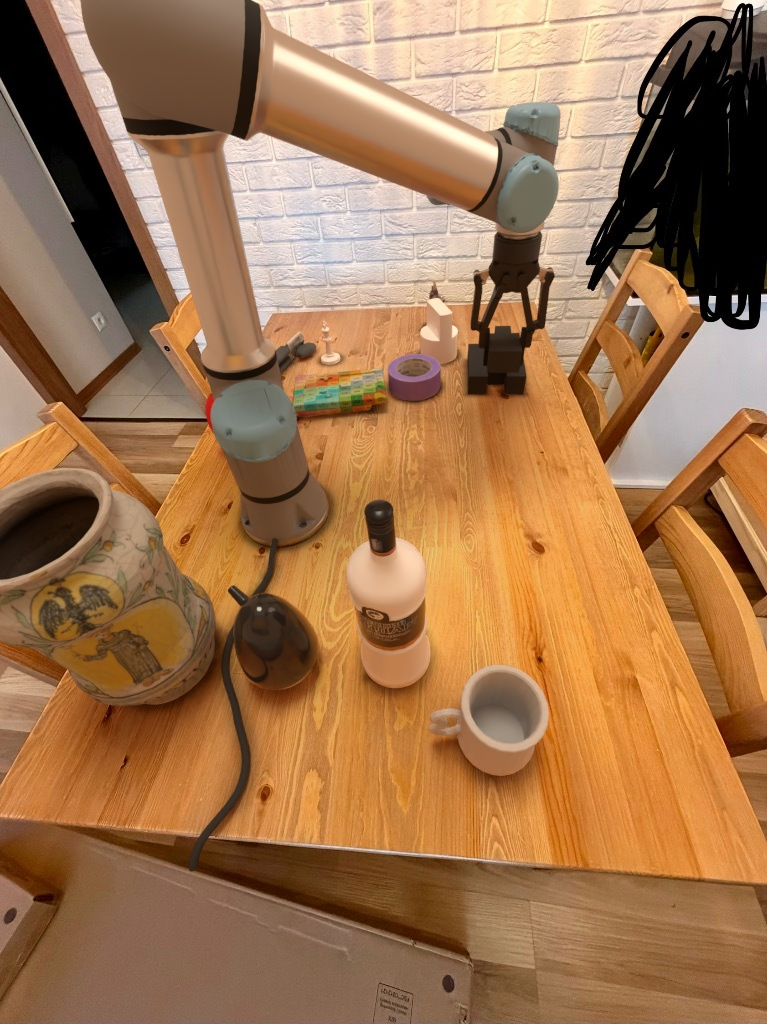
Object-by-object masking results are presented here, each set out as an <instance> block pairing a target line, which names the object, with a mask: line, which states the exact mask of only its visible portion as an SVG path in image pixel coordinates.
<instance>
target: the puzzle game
mask: <svg viewBox="0 0 767 1024" xmlns="http://www.w3.org/2000/svg"><path fill="white" fill-rule="evenodd" d="M384 373H385V372H384V367H381V368H380V367H379V368H369V369H357V370H347V371H336V372H326V373H313V374H303V375H297V376H295V378H294V388H293V396H292V397H293V398H292V404H293V406H294V409H295V412H296V415H297V416H299V417H301V418H307V417H317V416H327V415H336V414H337V415H338V414H347V413H355V412H367V411H370V410H371V409H372V406H374V405H383V404H385V403H388V397H387V389H386V381H385V374H384Z"/></svg>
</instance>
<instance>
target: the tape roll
mask: <svg viewBox="0 0 767 1024" xmlns="http://www.w3.org/2000/svg"><path fill="white" fill-rule="evenodd" d="M441 370H442V369H441V364H440V363H439V362H438V361H437V360H436V359H435V358H433V357H431V356H428V355H423V354H420V353H410V354H405V355H402V356H399V357H396V358H394V359H393V360H392V361H391V362H390V363H389V364H388V366H387V377H388V378H387V379H388V390H389V392H390V394H391V395H392V396H393V397H395V398H397V399H399V400H403V401H407V402H417V401H418V402H419V401H423V400H424V401H425V400H427V399H430V398H432V397H434V396H435V395H436V394H437V393H438V392H439V391H440V389H441Z"/></svg>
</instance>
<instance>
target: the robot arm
mask: <svg viewBox="0 0 767 1024" xmlns="http://www.w3.org/2000/svg"><path fill="white" fill-rule="evenodd" d="M79 1H80V9H81V17H82V22H83V27H84V31H85V34H86V37H87V39H88V43H89V45H90V48H91V49H92V51H93V54H94V55H95V58H96V60H97V62H98V64H99V66H100V67H101V68H102V70H103V72H104V73H105V74H106V76H107V78H108V79H109V82H110V84H111V87H112V90H113V93H114V97H115V99H116V102H117V103H116V104H117V106H118V109H119V112H120V114H121V119H122V121H123V123H124V127H125V130H126V133H127V135H128V136H129V138H131V139H132V140H133V141H135V142H136V143H137V144H138V145H139V146H140V147H142V148H143V149H144V151H145V152H146V153H147V155H148V157H149V161H150V164H151V166H152V170H153V173H154V178H155V180H156V184H157V187H158V190H159V193H160V196H161V199H162V203H163V206H164V210H165V212H166V216H167V219H168V222H169V227H170V228H171V232H172V235H173V238H174V242H175V245H176V248H177V251H178V256H179V258H180V261H181V265H182V268H183V271H184V274H185V278H186V281H187V284H188V287H189V291H190V293H191V298H192V299H193V304H194V308H195V310H196V314H197V317H198V321H199V323H200V327H201V331H202V333H203V336H204V339H205V343H206V345H205V347H204V348H203V349H202V351H201V352H200V353H201V354H200V361H201V363H202V367H203V371H204V374H205V377H206V379H207V382H208V387H209V388H210V392H211V393H212V395H213V399H214V403H213V405H212V408H211V414H210V416H211V423H212V429H213V432H212V434H213V433H214V434H213V436H214V438H215V440H216V441H217V442H218V445H219V447H220V448H221V451H222V453H223V455H224V457H225V459H226V462H227V464H228V467H229V469H230V471H231V474H232V476H233V479H234V481H235V483H236V486H237V487H238V489H239V493H240V498H239V499H240V500H239V501H240V502H239V504H240V505H239V516H240V521H241V524H242V527H243V529H244V530H245V533H246V535H247V536H248V537H249V538H250V539H251V540H252V541H254V542H256V543H258V544H259V545H262V546H266V547H267V546H268V547H270V550H269V555H268V564H267V569H266V573H265V575H264V577H263V579H262V581H261V582H260V583H259V585H258V587H256V589H255V590H254V591H253V593H252V594H251V595H250V596H249V598H250V597H252V596H254V595H257V594H261V593H263V592H264V590H265V589H266V587H267V586H268V584H269V582H270V581H271V578H272V577H273V576H272V575H273V573H274V568H275V561H276V553H277V549H278V548H280V547H281V548H282V547H289V546H292V545H296V544H298V543H299V544H300V543H302V542H303V541H306V540H307V539H309V538H311V537H312V536H314V535H315V534H316V533H317V532H319V530H321V528H322V527H323V526H324V524H325V523H326V520H327V519H328V516H329V511H330V507H329V506H330V504H329V500H328V496H327V493H326V491H325V489H324V488H323V486H322V485H321V484H320V483H319V481H318V480H317V479H316V478H315V476H314V475H313V474H312V472H311V471H310V468H309V464H308V460H307V456H306V452H305V449H304V445H303V441H302V437H301V433H300V429H299V425H298V417H297V416H298V415H297V414H296V412H295V409H294V406H293V402H292V401H291V398H290V396H289V395H288V394H287V392H286V391H285V388H284V385H283V380H282V376H281V374H280V370H279V365H278V360H277V355H276V350H277V349H276V346H275V344H274V343H273V341H272V340H270V339H268V338H267V337H266V336H264V335H263V329H262V325H261V320H260V316H259V311H258V305H257V300H256V296H255V291H254V287H253V282H252V278H251V272H250V268H249V263H248V259H247V253H246V250H245V249H246V248H245V244H244V238H243V233H242V230H241V226H240V221H239V216H238V210H237V206H236V202H235V195H234V192H233V187H232V183H231V177H230V173H229V168H228V164H227V159H226V154H225V149H224V147H225V143H226V141H227V140H228V138H229V136H232V137H235V138H237V139H240V140H243V141H246V142H247V141H249V140H251V139H253V137H255V136H256V135H258V134H262V135H266V136H267V137H270V138H274V139H276V140H278V141H280V142H284V143H287V144H289V145H292V146H295V147H297V148H300V149H303V150H305V151H308V152H310V153H313V154H316V155H318V156H321V157H324V158H326V159H329V160H332V161H334V162H337V163H339V164H342V165H344V166H348V167H350V168H352V169H355V170H358V171H360V172H362V173H363V172H364V173H366V174H368V175H371V176H373V177H377V178H379V179H381V180H385V181H386V182H390V183H393V184H395V185H398V186H400V187H403V188H406V189H408V190H411V191H414V192H416V193H419V194H421V195H424V196H426V198H427V200H428V201H429V203H430V204H431V205H433V206H445V205H446V206H453V207H455V208H459V209H461V210H463V211H466V212H468V213H470V214H473V215H475V216H478V217H480V218H483V219H486V220H489V221H491V222H492V223H495V225H494V228H495V231H496V233H495V234H494V237H493V245H492V246H493V247H492V257H491V262H490V264H489V265H488V268H486V269H483V270H479V269H475V270H474V271H473V273H472V275H473V276H472V277H473V284H474V291H473V299H472V307H471V315H470V320H469V321H470V324H469V325H470V331H472V332H474V331H476V332H478V344H479V348H484V351H483V366H487V360H488V350H489V342H490V333H491V327H490V325H491V322H492V320H493V317H494V315H495V313H496V310H497V309H498V306H499V303H500V301H501V300H502V298H503V295H504V294H509V293H514V294H520V297H521V304H522V309H523V314H524V320H525V325H526V326H521V331H520V340H521V346H522V357H521V363H520V366H522V363H523V357H524V356H525V351H526V349H529V348H531V347H532V342H533V336H534V334H535V331H537V330H543V329H545V328H546V322H547V312H548V305H549V297H550V288H551V285H552V284H553V281H554V279H555V278H556V274H555V271H554V269H553V267H551V266H549V267H547V268H546V267H542V266H540V263H539V260H540V259H539V258H540V253H541V246H542V239H543V233H542V231H543V229H544V226H545V221H546V220H547V219H548V217H549V216H550V215H551V212H552V210H553V209H554V207H555V204H556V201H557V200H558V195H559V189H560V184H559V174H558V173H557V170H556V168H555V166H554V165H555V161H556V155H557V150H558V147H559V135H560V128H561V127H560V126H561V109H560V107H559V106H558V105H557V104H556V103H553V102H548V101H546V102H545V101H531V102H522V103H517V104H516V105H512V106H509V107H508V108H507V110H506V111H505V112H506V113H505V117H504V121H503V125H502V127H498V128H496V129H493V130H488V131H487V130H486V131H484V130H481V129H480V128H477V127H476V126H473V125H471V124H470V123H468V122H465V121H464V120H462V119H459V118H457V117H455V116H453V115H452V114H449V113H447V112H445V111H443V110H441V109H439V108H437V107H435V106H433V105H431V104H429V103H427V102H425V101H423V100H421V99H419V98H416V97H415V96H413V95H411V94H409V93H406V92H404V91H402V90H401V89H399V88H397V87H394V86H392V85H390V84H388V83H387V82H384V81H382V80H380V79H378V78H376V77H374V76H372V75H370V74H368V73H366V72H364V71H363V70H359V69H358V68H356V67H353V66H351V65H350V64H347V63H346V62H344V61H342V60H340V59H338V58H335V57H333V56H331V55H329V54H327V53H325V52H323V51H321V50H319V49H317V48H315V47H313V46H311V45H309V44H307V43H305V42H303V41H300V40H299V39H297V38H294V37H292V36H291V35H288V34H286V33H284V32H282V31H280V30H278V29H276V28H274V27H273V25H272V24H271V21H270V19H269V17H268V15H267V12H266V11H265V8H264V6H263V5H261V4H260V3H258V2H257V1H254V0H79ZM537 276H538V281H539V283H540V286H539V296H538V305H537V313H536V314H537V315H536V319H533V314H532V308H531V302H530V295H529V289H528V287H529V286H530V285H531V283H532V282H533V281H534V280H535V279H536V277H537ZM488 278H490V279H491V281H492V282H493V284H494V287H493V290H492V293H491V296H490V298H489V301H488V303H487V305H486V308H485V310H484V313H483V315H482V318H481V319H480V320H481V321H479V317H480V311H481V304H482V298H483V286H485V285H486V284H487V279H488ZM277 547H278V548H277ZM233 643H234V623H233V624H232V626H231V628H230V630H229V633H228V635H227V637H226V640H225V642H224V647H223V650H222V656H221V676H222V683H223V686H224V689H225V692H226V694H227V699H228V701H229V705H230V709H231V714H232V719H233V720H232V721H233V724H234V728H235V732H236V736H237V740H238V743H239V748H240V754H241V765H240V766H241V767H240V773H239V777H238V781H237V783H236V786H235V789H234V791H232V794H231V796H230V797H229V799H228V800H227V801H226V803H225V804H224V805H223V806H222V807H221V809H220V810H219V811H218V812H217V814H215V816H213V818H212V819H211V820H210V821H209V823H208V824H207V825H206V826H205V827H204V829H203V831H202V832H201V833H200V834H199V836H198V838H197V839H196V840H195V843H194V845H193V847H192V850H191V853H190V856H189V859H188V871H189V872H191V873H192V872H194V871H196V870H197V868H198V865H199V860H200V856H201V852H202V851H203V848H204V847H205V844H206V842H207V841H208V840H209V838H210V837H211V835H212V834H213V833H214V831H215V830H216V829H217V828H218V826H219V825H220V824H221V823H222V822H223V821H224V819H226V817H227V816H228V815H229V814H230V813H231V811H232V810H233V809H234V807H235V806H236V804H237V803H238V801H239V799H240V798H241V796H242V794H243V792H244V790H245V788H246V785H247V782H248V777H249V774H250V773H249V772H250V765H251V755H250V747H249V741H248V737H247V734H246V732H245V731H246V730H245V727H244V724H243V719H242V714H241V709H240V705H239V701H238V696H237V694H236V691H235V689H234V686H233V683H232V679H231V674H230V654H231V649H232V645H233Z"/></svg>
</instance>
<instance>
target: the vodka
mask: <svg viewBox="0 0 767 1024" xmlns="http://www.w3.org/2000/svg"><path fill="white" fill-rule="evenodd" d="M363 512H364V514H363V515H364V519H365V523H366V524H365V525H366V531H367V536H368V537H367V538H368V540H367V541H364V542H363V543H361V544H360V545H359V546H357V548H356V549H355V550H354V551H353V552H352V554H351V555H350V557H349V558H348V561H347V566H346V570H345V581H346V586H347V590H348V593H349V599H350V600H351V603H352V604H353V608H354V612H355V616H356V628H357V632H358V635H359V637H360V639H361V644H360V659H361V663H362V667H363V670H364V671H365V673H366V674H367V676H368V677H369V678H370V679H371V680H372V681H374V683H376V684H378V685H379V686H382V687H385V688H389V689H402V688H406V687H409V686H412V685H413V684H415V683H416V682H418V681H419V680H421V679H422V677H423V676H424V675H425V674H426V672H427V671H428V668H429V666H430V663H431V643H430V640H429V637H428V635H427V634H426V633H427V629H428V617H427V613H426V595H427V591H428V590H427V588H428V585H427V584H428V583H427V577H428V571H427V570H428V569H427V564H426V561H425V559H424V557H423V555H422V554H421V552H420V550H419V549H418V548H417V547H416V546H415V545H413V544H412V543H411V542H409V541H408V540H406V539H403V538H401V537H397V536H396V525H395V514H394V513H395V512H394V506H393V505H392V503H391V502H389V501H388V500H385V499H378V498H377V499H374V500H371V501H369V502H368V503H367V504H366V505H365V507H364V510H363Z"/></svg>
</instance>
